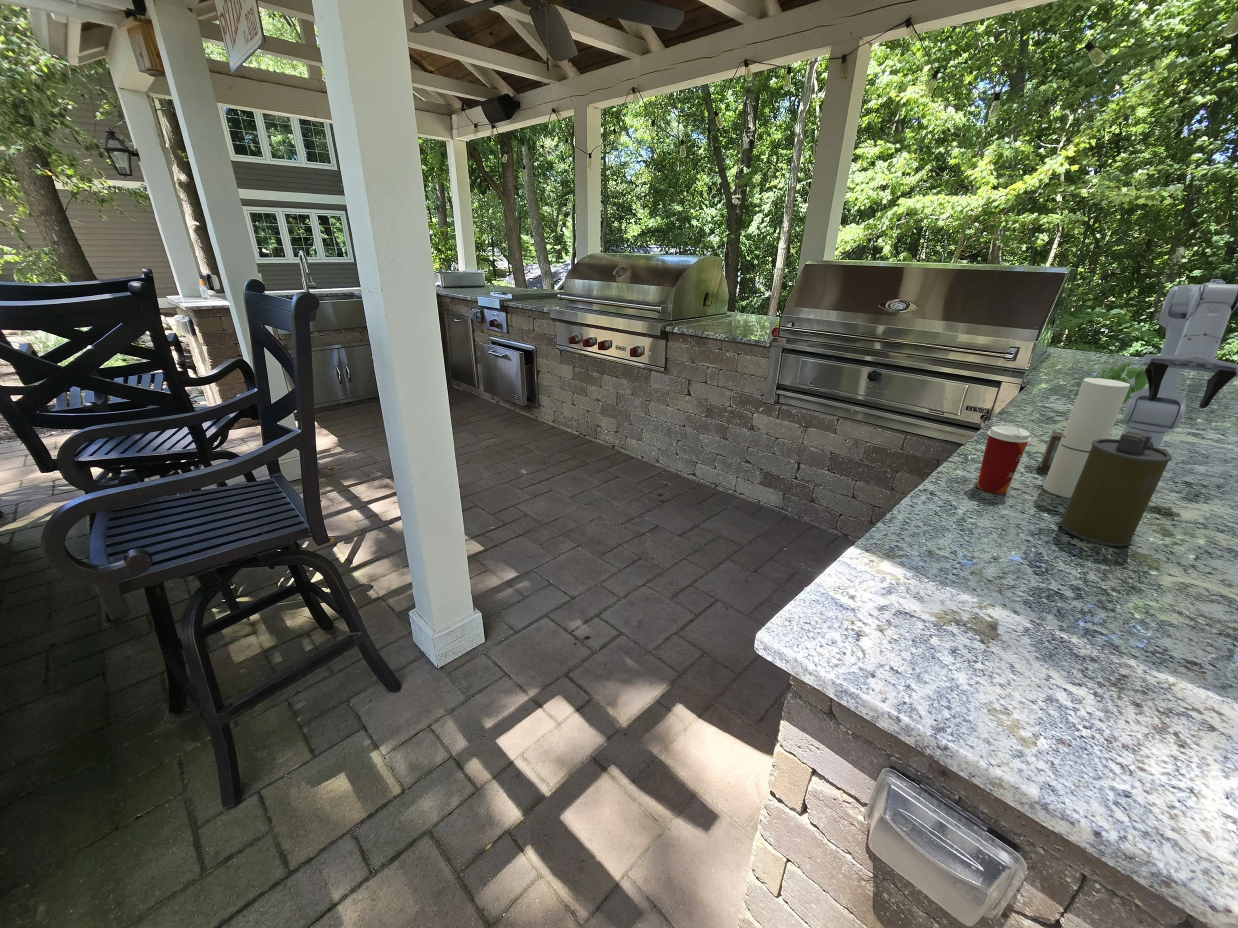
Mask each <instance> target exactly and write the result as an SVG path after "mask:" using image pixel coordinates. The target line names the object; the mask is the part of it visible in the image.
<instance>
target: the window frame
mask: <svg viewBox="0 0 1238 928" xmlns="http://www.w3.org/2000/svg"><path fill="white" fill-rule="evenodd" d="M1063 433H1064V432H1063V431H1062V432H1061V431H1055V430H1051V433H1050V435H1049V437H1048V441H1047V444H1046V447H1045V449H1044V452H1043V454H1042V457H1041V460H1040V462H1039V470H1042V471H1046V472H1049V470H1050V467H1051V465H1052V462H1053V459H1054V457H1055V454H1056V451H1057V449H1058V446H1059V443H1060V441H1061V438H1062V435H1063ZM1159 449H1161V450H1164V451H1166V452H1168V453H1169V451H1168V450H1167V448H1162V447H1159Z"/></svg>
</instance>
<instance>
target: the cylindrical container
mask: <svg viewBox="0 0 1238 928" xmlns="http://www.w3.org/2000/svg"><path fill="white" fill-rule="evenodd" d="M1128 383H1129V382H1128ZM1128 383H1125V382H1121V381H1116V380H1110V379H1101V378H1100V377H1099V378H1091V377H1086V378H1083V380H1082V382H1081V385H1080V387H1079V390H1078V392H1079V393H1078V396H1076V398H1075V401H1074V404H1073V406H1072V409H1071V412H1070V414H1069V417H1068V419H1067V422H1066V425H1065V428H1064V431H1063V432H1062V433H1063V435H1062V438H1061V441H1060V443H1059V446H1058V449H1057V451H1056V454H1055V457H1054V459H1053V462H1052V465H1051V467H1050V470H1049V471H1047V472H1048V473H1047V475H1046V478H1045V480H1044V483H1043V485H1042V488H1043V489H1044V490H1045V491H1046V492H1048V493H1050V494H1052V495H1054V496H1058V497H1063V498H1068V499H1071V497H1072V494H1073V492H1074V489H1075V487H1076V484H1077V482H1078V480H1079V477H1080V475H1081V472H1082V470H1083V467H1084V465H1085V462H1086V460H1087V458H1088V455H1089V453H1090V450H1091V448H1092V441H1094V440H1097V439H1109V438H1110V435H1111V433H1112V430H1113V428H1114V425H1115V423H1116V420H1117V418H1118V417H1119V414H1120V411H1121V410H1122V409H1121V407H1123V405H1124V404H1123V402H1124V399H1125V397H1126V394H1127V392H1128V390H1129V387H1130V384H1131V383H1129V384H1128ZM1122 404H1123V405H1122Z"/></svg>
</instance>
